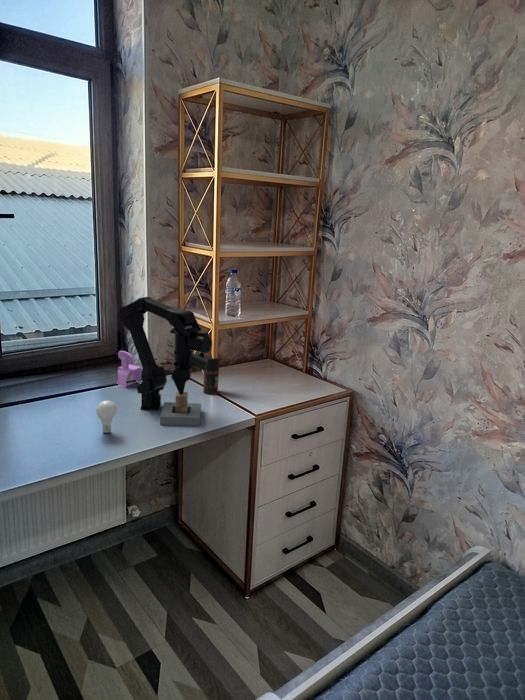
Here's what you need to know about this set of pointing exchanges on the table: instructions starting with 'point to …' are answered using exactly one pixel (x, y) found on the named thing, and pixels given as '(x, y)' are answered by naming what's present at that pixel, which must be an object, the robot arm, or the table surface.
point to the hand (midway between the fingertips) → (182, 390)
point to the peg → (181, 402)
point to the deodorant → (211, 376)
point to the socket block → (180, 415)
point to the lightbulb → (106, 414)
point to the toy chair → (127, 369)
